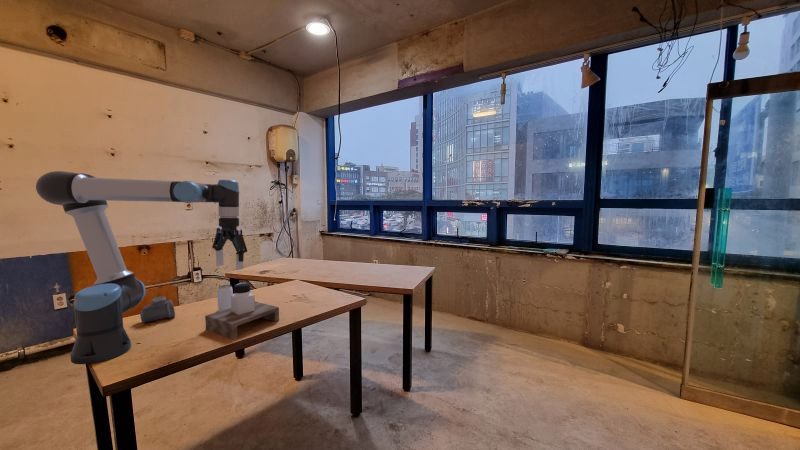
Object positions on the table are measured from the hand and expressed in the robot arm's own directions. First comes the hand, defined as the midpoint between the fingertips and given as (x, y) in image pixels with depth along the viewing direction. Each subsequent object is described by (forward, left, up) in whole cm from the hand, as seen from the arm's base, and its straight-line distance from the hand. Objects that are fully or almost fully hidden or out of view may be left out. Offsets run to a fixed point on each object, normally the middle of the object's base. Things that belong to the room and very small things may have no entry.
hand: (229, 267), depth 130 cm
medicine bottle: (+3, +3, -20) cm, 20 cm away
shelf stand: (+3, +3, -26) cm, 26 cm away
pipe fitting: (-36, -12, -26) cm, 46 cm away
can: (-21, +10, -26) cm, 35 cm away
